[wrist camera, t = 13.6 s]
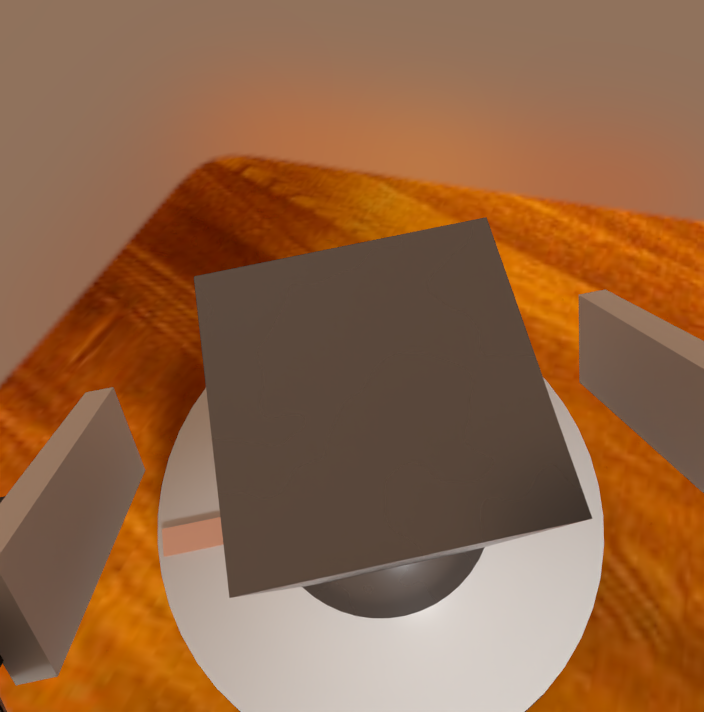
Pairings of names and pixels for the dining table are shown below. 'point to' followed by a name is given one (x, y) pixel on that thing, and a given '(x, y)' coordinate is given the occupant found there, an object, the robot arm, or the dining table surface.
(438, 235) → the square post on disc
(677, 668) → the dining table surface
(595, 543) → the turntable platter
